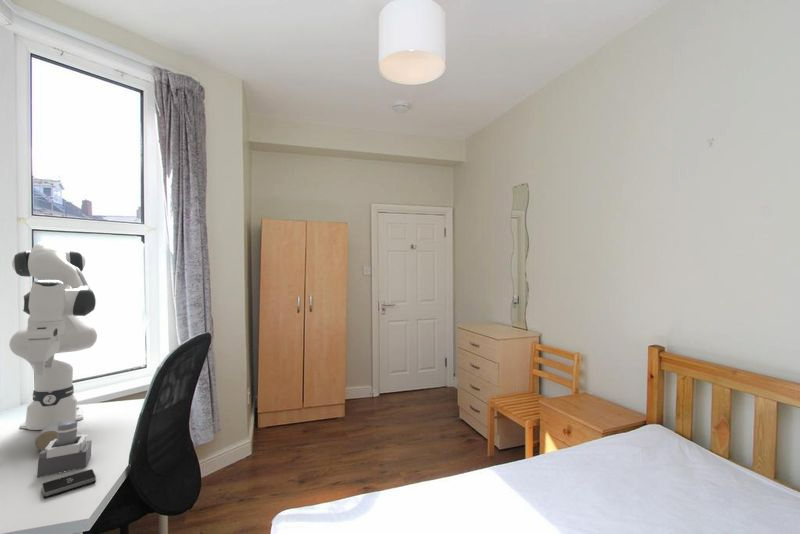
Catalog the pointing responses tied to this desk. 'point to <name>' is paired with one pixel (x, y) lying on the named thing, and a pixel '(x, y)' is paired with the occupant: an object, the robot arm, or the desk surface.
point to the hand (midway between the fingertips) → (44, 371)
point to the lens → (67, 433)
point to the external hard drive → (68, 483)
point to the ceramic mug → (47, 436)
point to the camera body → (64, 456)
